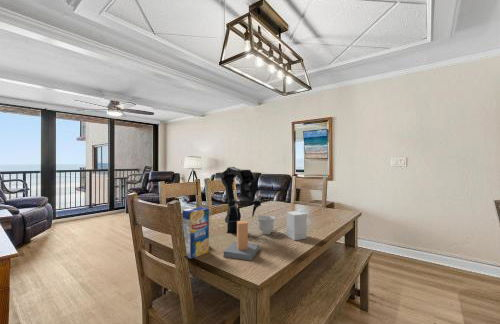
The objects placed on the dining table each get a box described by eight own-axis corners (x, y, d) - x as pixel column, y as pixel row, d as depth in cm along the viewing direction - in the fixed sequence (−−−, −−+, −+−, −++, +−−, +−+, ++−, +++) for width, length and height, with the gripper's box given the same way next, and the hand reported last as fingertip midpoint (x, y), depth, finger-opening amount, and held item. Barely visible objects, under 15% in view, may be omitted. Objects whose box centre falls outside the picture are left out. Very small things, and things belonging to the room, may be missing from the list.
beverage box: (182, 254, 113) (182, 210, 113) (200, 248, 121) (200, 206, 121) (190, 258, 108) (190, 212, 108) (208, 252, 116) (209, 208, 116)
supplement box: (307, 238, 137) (307, 213, 137) (294, 240, 133) (294, 215, 133) (298, 234, 145) (298, 210, 145) (286, 236, 142) (286, 211, 142)
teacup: (275, 229, 156) (275, 214, 156) (275, 236, 141) (275, 220, 141) (257, 228, 157) (257, 213, 157) (256, 235, 142) (256, 219, 142)
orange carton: (236, 246, 117) (236, 221, 117) (245, 245, 118) (245, 220, 118) (238, 250, 113) (238, 223, 113) (247, 249, 114) (247, 223, 114)
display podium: (223, 256, 111) (223, 251, 111) (234, 246, 124) (234, 241, 124) (251, 260, 107) (251, 255, 107) (259, 249, 120) (259, 244, 120)
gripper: (227, 192, 128) (227, 220, 128) (260, 192, 127) (260, 221, 127) (229, 190, 139) (229, 215, 139) (260, 190, 138) (260, 216, 138)
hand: (244, 217), depth 135 cm, fingers open, 9 cm apart
